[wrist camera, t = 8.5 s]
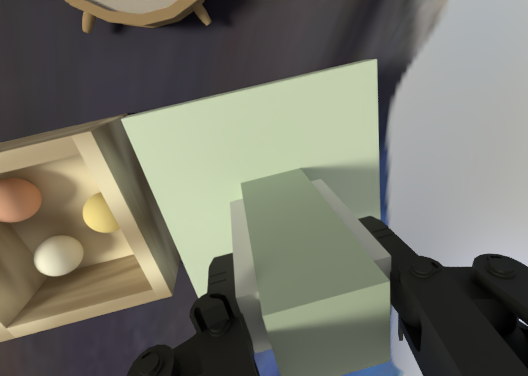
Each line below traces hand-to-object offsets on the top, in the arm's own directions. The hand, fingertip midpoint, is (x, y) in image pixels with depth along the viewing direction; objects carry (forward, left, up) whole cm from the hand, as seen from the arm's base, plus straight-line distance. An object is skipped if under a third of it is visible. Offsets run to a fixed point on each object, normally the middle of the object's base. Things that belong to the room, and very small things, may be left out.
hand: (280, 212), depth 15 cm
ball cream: (+2, -17, -7) cm, 18 cm away
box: (0, -15, -8) cm, 17 cm away
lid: (0, 0, -3) cm, 3 cm away
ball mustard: (0, -12, -7) cm, 14 cm away
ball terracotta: (-3, -17, -7) cm, 19 cm away
